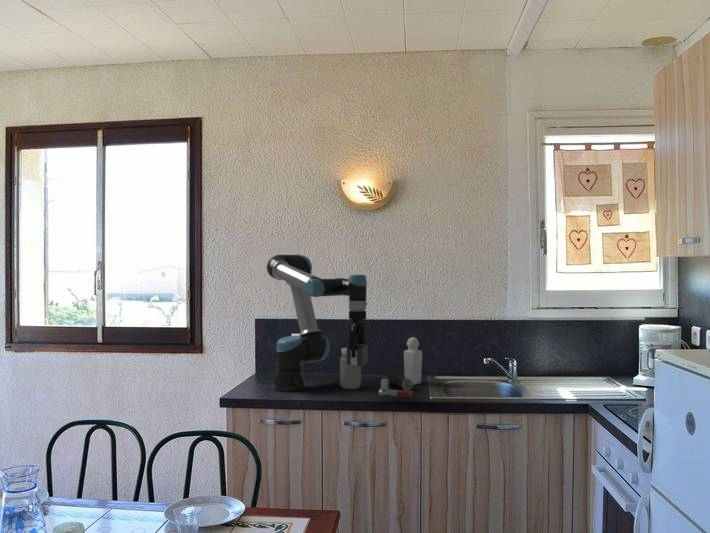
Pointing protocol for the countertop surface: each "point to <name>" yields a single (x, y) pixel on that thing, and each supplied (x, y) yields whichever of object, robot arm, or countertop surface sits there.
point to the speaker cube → (359, 355)
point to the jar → (349, 373)
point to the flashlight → (400, 382)
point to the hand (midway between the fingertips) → (357, 363)
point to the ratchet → (389, 392)
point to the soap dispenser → (413, 361)
